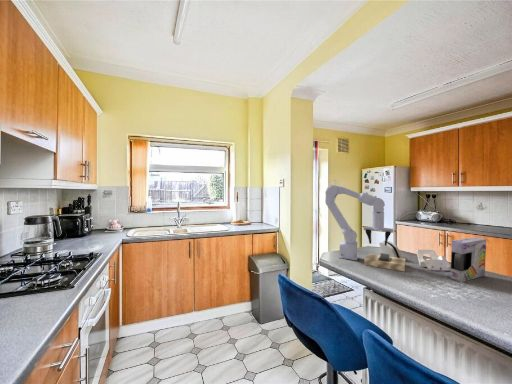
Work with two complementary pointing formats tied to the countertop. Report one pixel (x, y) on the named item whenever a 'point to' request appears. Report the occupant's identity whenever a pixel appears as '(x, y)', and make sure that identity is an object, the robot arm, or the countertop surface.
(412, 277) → the countertop surface
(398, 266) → the well block
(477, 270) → the cake pan box
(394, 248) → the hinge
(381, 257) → the t bracket
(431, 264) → the mounting bracket
